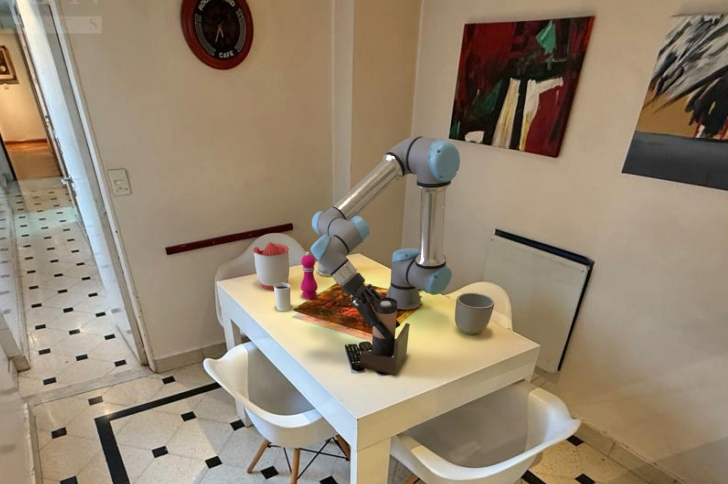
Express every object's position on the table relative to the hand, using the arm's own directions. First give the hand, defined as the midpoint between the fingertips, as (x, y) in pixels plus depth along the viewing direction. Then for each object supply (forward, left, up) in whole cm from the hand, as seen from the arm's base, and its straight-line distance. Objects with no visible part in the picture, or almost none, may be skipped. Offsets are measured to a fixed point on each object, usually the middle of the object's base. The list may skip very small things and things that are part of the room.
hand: (393, 332), depth 153 cm
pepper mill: (-39, -49, -12) cm, 64 cm away
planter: (-34, +22, -12) cm, 42 cm away
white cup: (-24, -54, -12) cm, 61 cm away
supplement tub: (-67, -52, -12) cm, 86 cm away
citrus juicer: (-44, -70, -12) cm, 84 cm away
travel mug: (0, -3, -10) cm, 10 cm away
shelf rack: (0, -3, -12) cm, 13 cm away
